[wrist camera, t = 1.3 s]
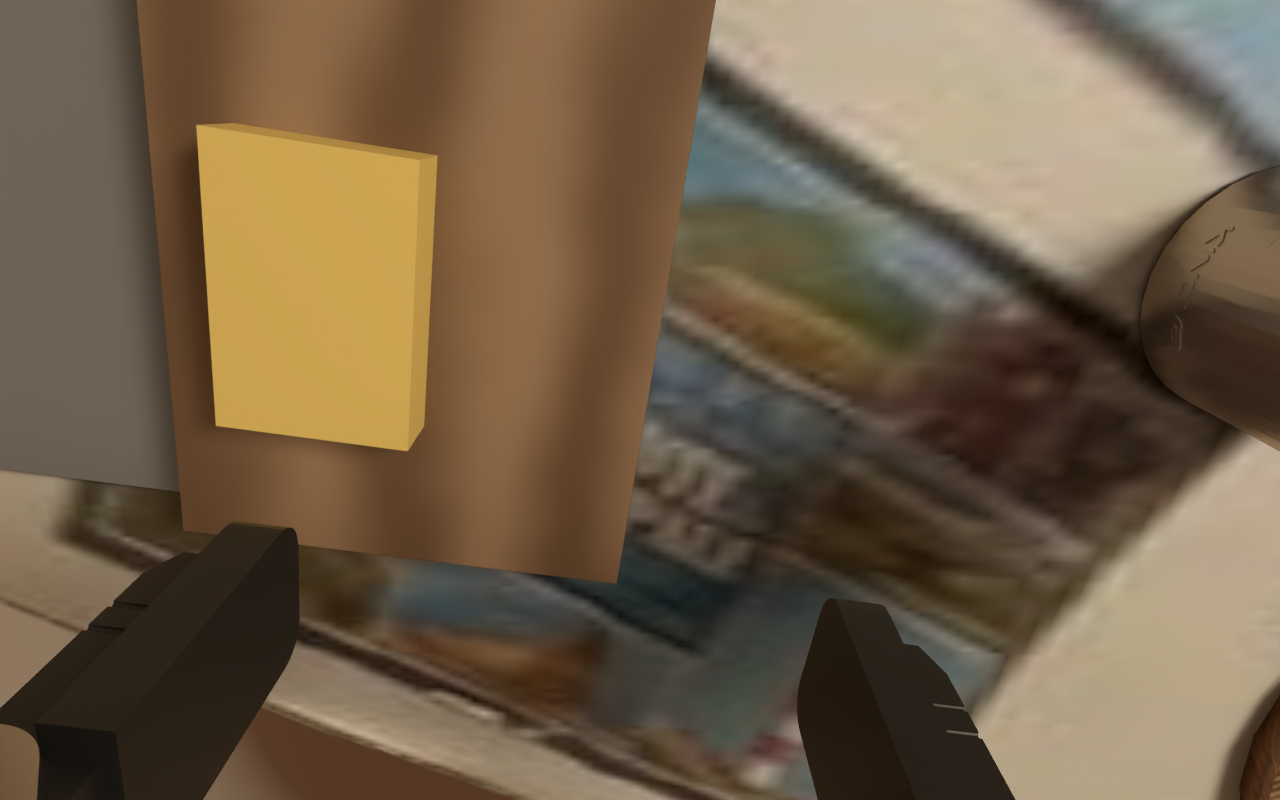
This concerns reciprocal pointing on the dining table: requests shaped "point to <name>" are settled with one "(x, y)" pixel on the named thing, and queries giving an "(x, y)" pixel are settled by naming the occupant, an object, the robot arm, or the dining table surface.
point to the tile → (317, 283)
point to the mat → (80, 251)
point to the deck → (451, 258)
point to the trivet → (1264, 761)
